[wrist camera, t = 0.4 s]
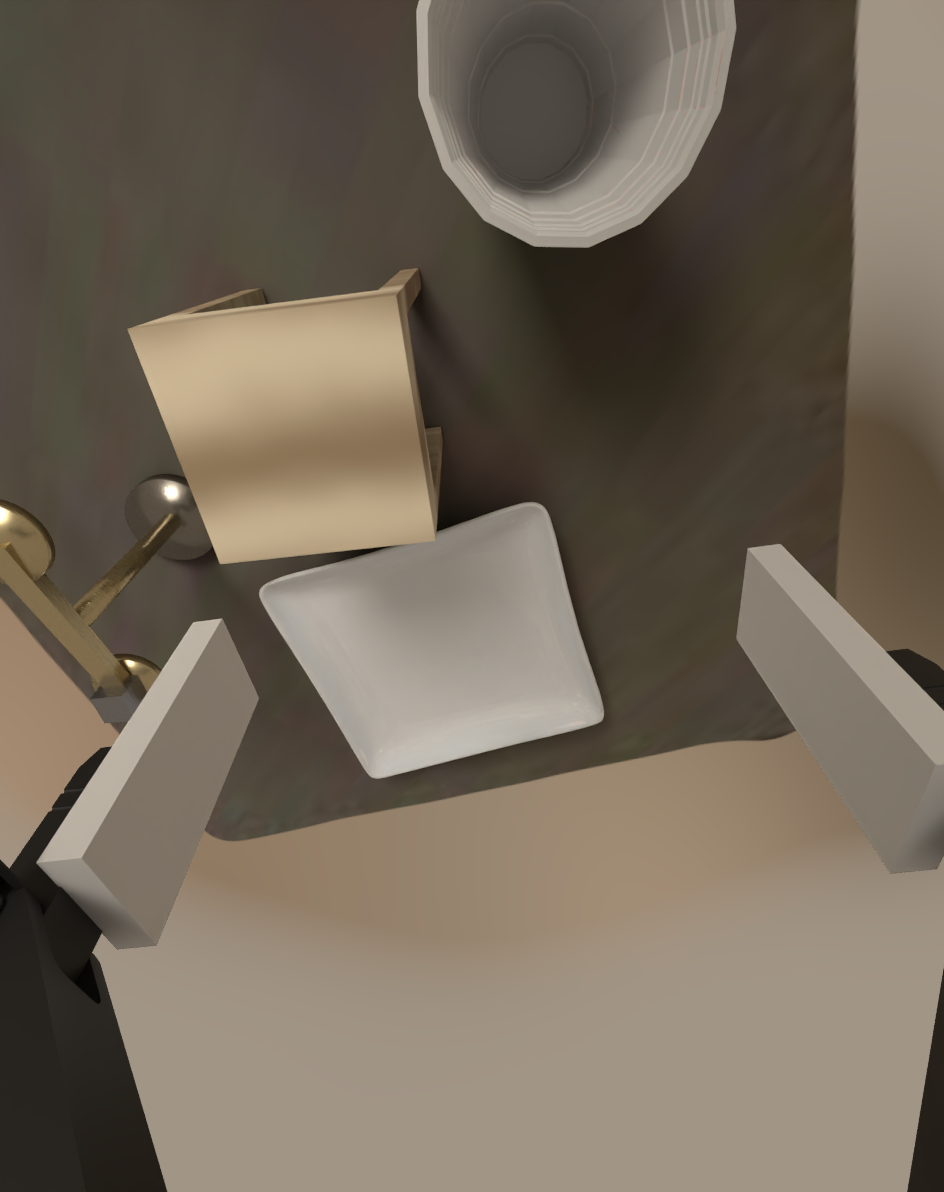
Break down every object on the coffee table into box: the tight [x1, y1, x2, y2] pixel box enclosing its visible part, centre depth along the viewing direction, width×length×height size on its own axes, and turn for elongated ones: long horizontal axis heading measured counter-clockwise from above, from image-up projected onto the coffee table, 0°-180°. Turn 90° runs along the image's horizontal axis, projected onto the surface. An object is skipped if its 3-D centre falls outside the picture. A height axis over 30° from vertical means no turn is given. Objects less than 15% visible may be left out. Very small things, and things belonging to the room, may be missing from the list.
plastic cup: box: [416, 0, 736, 248], centre depth 24 cm, size 11×11×12 cm
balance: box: [0, 474, 213, 723], centre depth 34 cm, size 15×6×15 cm, turn 6°
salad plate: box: [259, 502, 604, 779], centre depth 46 cm, size 21×21×3 cm
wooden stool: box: [128, 268, 443, 564], centre depth 30 cm, size 10×10×14 cm
